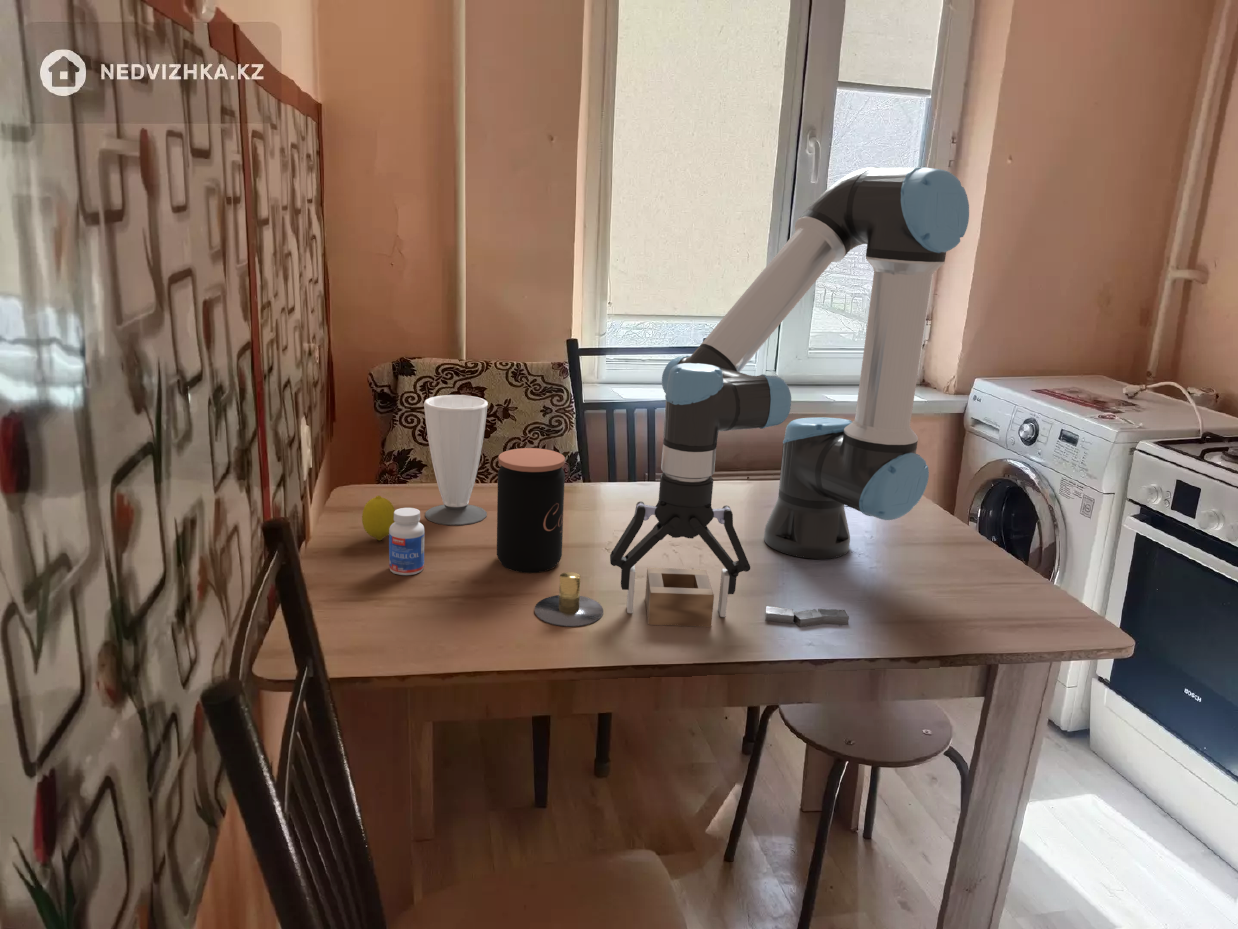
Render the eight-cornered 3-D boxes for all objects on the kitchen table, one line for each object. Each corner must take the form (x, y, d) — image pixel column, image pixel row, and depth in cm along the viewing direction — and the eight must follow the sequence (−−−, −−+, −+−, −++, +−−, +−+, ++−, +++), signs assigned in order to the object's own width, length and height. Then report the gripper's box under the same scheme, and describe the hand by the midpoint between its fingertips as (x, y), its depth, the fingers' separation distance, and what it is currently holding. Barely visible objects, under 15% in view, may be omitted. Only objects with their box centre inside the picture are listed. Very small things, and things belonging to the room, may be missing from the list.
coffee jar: (551, 578, 145) (555, 469, 140) (487, 569, 147) (488, 462, 142) (568, 554, 155) (572, 451, 150) (508, 546, 157) (510, 445, 152)
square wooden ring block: (703, 600, 140) (706, 569, 138) (711, 626, 131) (714, 594, 130) (645, 597, 139) (647, 567, 138) (648, 624, 131) (650, 592, 129)
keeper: (602, 597, 139) (604, 564, 137) (603, 627, 129) (605, 592, 128) (536, 595, 138) (537, 561, 137) (532, 625, 129) (533, 589, 127)
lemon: (356, 542, 155) (354, 497, 153) (376, 532, 160) (375, 488, 158) (383, 548, 153) (382, 503, 151) (402, 537, 158) (402, 494, 156)
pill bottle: (387, 576, 142) (386, 517, 139) (390, 563, 147) (389, 505, 144) (423, 576, 143) (423, 517, 140) (425, 562, 148) (424, 505, 145)
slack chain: (843, 616, 137) (844, 608, 137) (850, 628, 133) (851, 621, 133) (762, 613, 136) (763, 605, 136) (767, 625, 132) (768, 618, 132)
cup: (481, 503, 177) (482, 394, 171) (492, 523, 167) (493, 408, 161) (421, 506, 174) (419, 395, 167) (428, 527, 163) (427, 409, 157)
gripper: (769, 470, 133) (755, 603, 139) (598, 462, 132) (591, 596, 138) (779, 486, 126) (764, 626, 132) (598, 477, 125) (591, 618, 131)
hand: (675, 611), depth 135 cm, fingers open, 13 cm apart
